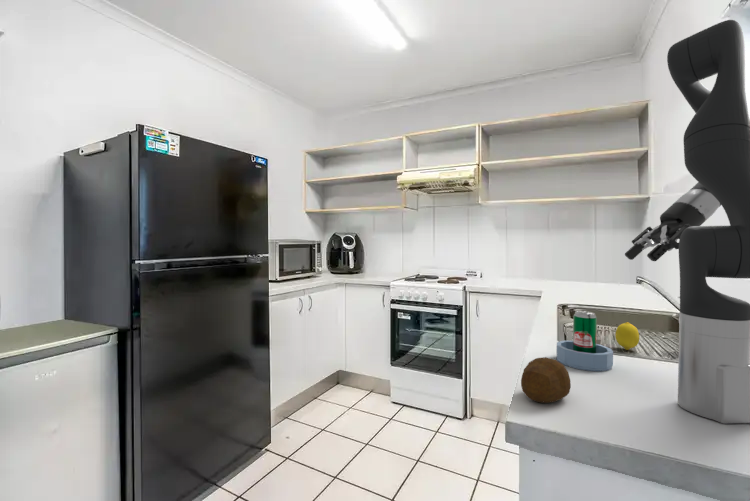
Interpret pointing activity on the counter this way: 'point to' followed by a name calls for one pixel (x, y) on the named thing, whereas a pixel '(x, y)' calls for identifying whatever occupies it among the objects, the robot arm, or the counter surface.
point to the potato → (545, 380)
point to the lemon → (627, 335)
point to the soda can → (584, 331)
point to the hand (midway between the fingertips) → (638, 258)
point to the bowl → (585, 357)
